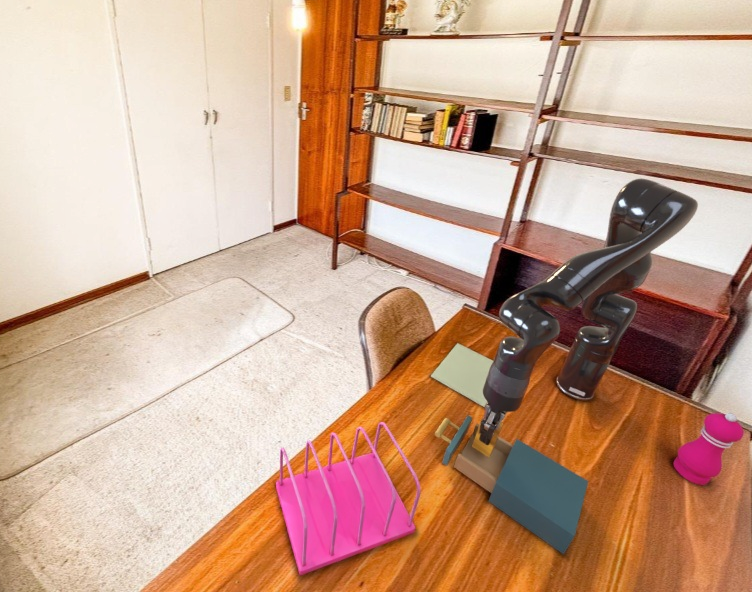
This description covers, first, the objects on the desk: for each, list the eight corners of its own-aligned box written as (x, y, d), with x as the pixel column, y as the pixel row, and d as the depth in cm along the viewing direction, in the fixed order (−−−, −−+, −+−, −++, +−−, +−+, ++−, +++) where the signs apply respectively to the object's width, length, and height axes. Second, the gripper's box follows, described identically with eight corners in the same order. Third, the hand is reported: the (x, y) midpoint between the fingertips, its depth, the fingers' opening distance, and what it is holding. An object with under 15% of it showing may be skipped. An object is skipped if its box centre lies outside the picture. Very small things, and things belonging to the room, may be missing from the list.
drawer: (425, 451, 96) (429, 438, 94) (448, 417, 105) (452, 405, 103) (501, 504, 86) (506, 490, 84) (519, 462, 95) (525, 448, 93)
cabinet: (488, 501, 87) (495, 482, 84) (509, 456, 97) (516, 438, 94) (563, 554, 78) (574, 536, 75) (577, 499, 88) (588, 481, 85)
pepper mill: (718, 490, 91) (766, 432, 82) (682, 483, 92) (726, 425, 84) (696, 461, 97) (739, 404, 89) (663, 455, 99) (702, 398, 90)
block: (476, 438, 95) (485, 412, 91) (493, 449, 93) (503, 423, 89) (471, 446, 93) (480, 420, 89) (489, 457, 91) (499, 431, 87)
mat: (457, 344, 133) (457, 343, 133) (507, 369, 123) (507, 367, 123) (430, 376, 120) (431, 375, 119) (484, 407, 110) (484, 405, 110)
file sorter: (275, 486, 88) (276, 439, 82) (374, 456, 96) (383, 411, 89) (299, 576, 74) (303, 528, 67) (415, 533, 81) (428, 486, 74)
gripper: (514, 413, 77) (492, 469, 84) (534, 374, 86) (513, 427, 94) (476, 391, 81) (458, 446, 89) (499, 356, 91) (481, 409, 98)
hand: (486, 436), depth 91 cm, fingers closed on block, 3 cm apart
